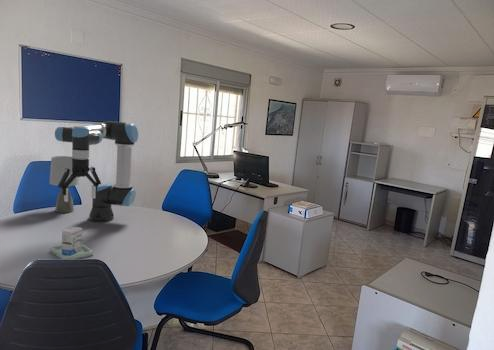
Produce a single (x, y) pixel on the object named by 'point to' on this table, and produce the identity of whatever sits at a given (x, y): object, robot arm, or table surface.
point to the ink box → (71, 240)
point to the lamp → (55, 177)
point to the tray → (81, 254)
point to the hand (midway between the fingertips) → (80, 199)
